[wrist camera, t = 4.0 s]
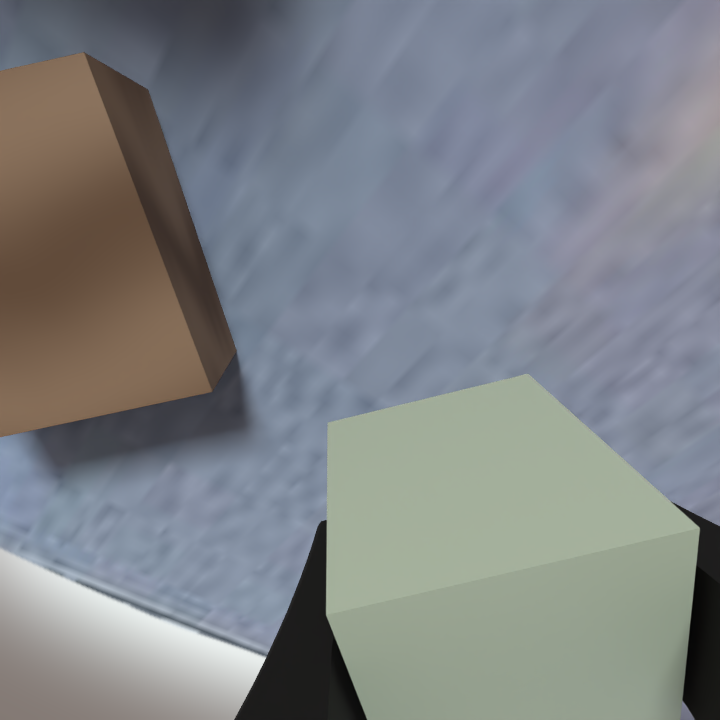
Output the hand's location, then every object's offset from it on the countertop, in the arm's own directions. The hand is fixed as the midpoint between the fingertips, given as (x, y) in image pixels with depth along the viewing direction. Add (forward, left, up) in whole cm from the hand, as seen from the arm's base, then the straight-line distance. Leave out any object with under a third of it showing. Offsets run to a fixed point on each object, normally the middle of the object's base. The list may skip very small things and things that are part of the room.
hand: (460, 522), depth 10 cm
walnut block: (+8, +11, -9) cm, 16 cm away
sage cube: (0, 0, -2) cm, 2 cm away
